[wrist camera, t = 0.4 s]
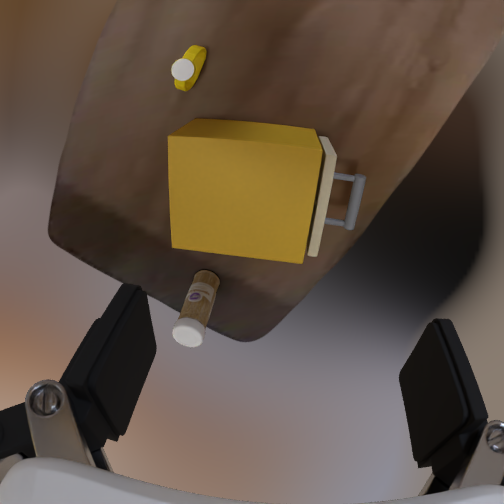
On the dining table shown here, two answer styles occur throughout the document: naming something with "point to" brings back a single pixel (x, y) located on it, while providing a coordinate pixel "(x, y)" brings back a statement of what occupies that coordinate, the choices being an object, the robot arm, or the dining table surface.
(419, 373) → the robot arm
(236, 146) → the cabinet
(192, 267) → the dining table surface
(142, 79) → the dining table surface
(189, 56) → the watch
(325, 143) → the drawer
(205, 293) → the sprinkles bottle
